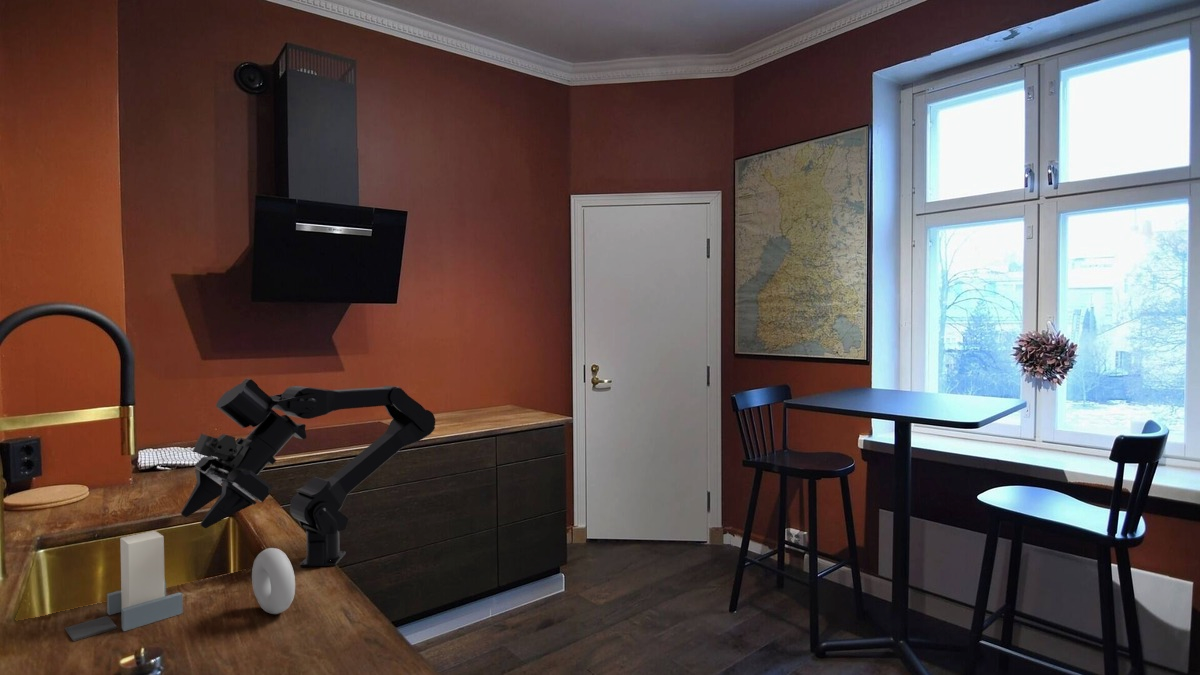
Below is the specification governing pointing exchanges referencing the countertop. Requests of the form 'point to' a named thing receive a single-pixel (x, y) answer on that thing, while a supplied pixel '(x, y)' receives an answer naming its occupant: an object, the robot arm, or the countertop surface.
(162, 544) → the block
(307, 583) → the countertop surface
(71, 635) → the mat
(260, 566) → the donut
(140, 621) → the channel
